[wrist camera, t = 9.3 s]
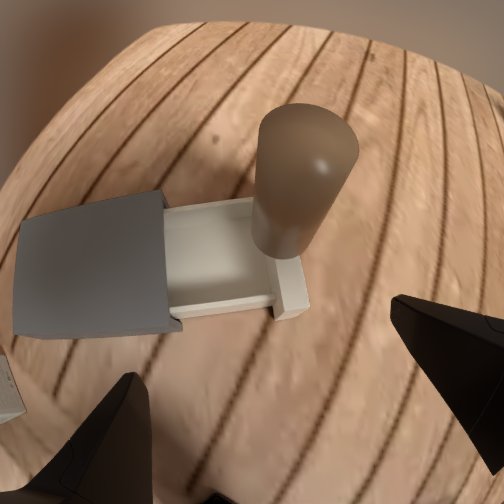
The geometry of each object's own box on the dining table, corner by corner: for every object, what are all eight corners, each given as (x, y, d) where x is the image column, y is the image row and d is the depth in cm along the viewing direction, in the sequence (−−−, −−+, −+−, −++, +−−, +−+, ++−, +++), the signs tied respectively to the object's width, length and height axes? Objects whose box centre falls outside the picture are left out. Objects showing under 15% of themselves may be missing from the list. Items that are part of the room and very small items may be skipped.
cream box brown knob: (115, 339, 21) (-13, 308, 8) (113, 223, 24) (30, 117, 11) (309, 314, 22) (401, 256, 9) (284, 198, 26) (318, 65, 12)
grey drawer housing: (43, 339, 20) (12, 333, 16) (46, 239, 24) (21, 220, 19) (183, 331, 22) (169, 325, 17) (173, 215, 25) (161, 189, 21)
